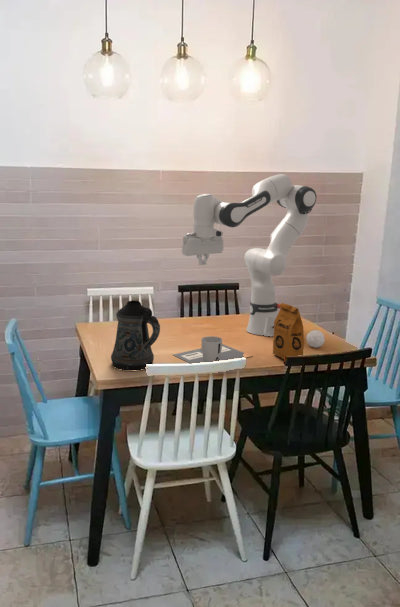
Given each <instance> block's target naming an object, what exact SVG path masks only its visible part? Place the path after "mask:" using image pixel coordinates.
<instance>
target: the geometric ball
mask: <svg viewBox="0 0 400 607" xmlns="http://www.w3.org/2000/svg"><path fill="white" fill-rule="evenodd" d="M325 340H326V338H325V335H324V333H323V332H322V331H321V330H318V329H313V330H311V331H309V332H308V333H307V335H306V342H307V345H309V346H310V347H311V348H312V347H314V348H315V349H317V348H320V347H322V346H323V345H324V343H325ZM314 348H313V349H314Z"/></svg>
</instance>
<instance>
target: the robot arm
mask: <svg viewBox="0 0 400 607" xmlns="http://www.w3.org/2000/svg"><path fill="white" fill-rule="evenodd" d="M275 202H276V203H277V204H278V206H279V207H281V208H284V209H287V212H286V215H285V216H284V217H283V218H282V220H280V222H279V223H278V224H277V226H275V228H274V230H273V231H272V232H271V233H270V238H269V239H270V241H269V245H268V246H267V248H263V247H262V248H260V247H254V248H249V249H248V250H247V251H246V252H245V254H244V256H243V258H244V259H243V262H244V264H245V267H247V270H248V275H249V279H250V286H251V287H250V288H251V292H250V293H251V295H250V296H251V297H250V298H251V299H250V302H249V319H248V323H247V327H246V332H248V333H249V334H252V335H256V336H263V335H264V337H268V336H270V337H274V321H275V319H276V317H277V315H278V313H279V311H280V309H281V307H280V304H281V303H277V302H276V301H275V300H276V285H275V283H274V281H273V278H272V276H273V277H275V276H280V275H282V274H283V273H284V272H285V271H286V268H287V266H288V265H287V264H288V261H287V256H288V254H289V252H290V250H291V248H292V246H293V245H294V244H295V243H296V241H297V240H298V239H299V237H300V236H301V235H302V233H303V232H304V230H305V229H306V227H307V225H308V223H309V220H310V217H309V214H310V213H311V212H312V210H313V208H314V207H315V205H316V202H317V192H316V190H315V189H313V188H312V187H310V186H306V185H301V184H293V182H292V179H291V178H290V177H289V175H287V174H285V173H280V174H275V175H271V176H269V177H267V178H264V179H262V180H260V181H258V182H257V183H255V184H254V185H253V186H252V188H251V196H250V197H249V198H247V199H245V200H243V201H241V202H227V201H226V202H225V201H222V200H220V199H219V198H217V197H215V196H214V195H213V194H211V193H203V194H199V195H197V196H196V197H195V198H194V201H193V211H192V212H193V215H192V216H193V223H192V233H186V234H185V235H184V236H183V238H182V246H181V253H182V255H183V256H185V257H186V256H187V257H191V256H196V258H197V261H198V265H200V266H204V265H208V264H207V261H208V259H209V258H210V255H212V254H222V253H223V251H224V238H223V236H224V232H223V231H222V230H219V229H216V228H214V227H215V224H217V225H222V226H225V227H229V228H235V227H236V228H237V227H239V226H240V225H241V224H242V223H243V222H244V221H245V220H246V218H248V217H249V216H250V215H252V214H254V213H257V211H259V210H261V209H263V208H265V207H266V206H269V205H271V204H273V203H275ZM202 258H203V259H202Z"/></svg>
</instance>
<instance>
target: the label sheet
mask: <svg viewBox="0 0 400 607" xmlns="http://www.w3.org/2000/svg"><path fill="white" fill-rule="evenodd" d="M244 353H245V352H243V351H241V350H238V349H235V348H233V347H231V346H228V345H226V344H223V343H222V350H221V355H220V359H219V360H228V359H234V358H242V357H244V356H243V354H244ZM172 356H174V357H175V358H178V359H180V360H182V361H184V362H186V363H188V364H190V363H200V362H204V359H203V353H202V347H201V348H197V349H196V348H195V349H192V350H188V351H183V352H180V353H179V352H178V353H174V354H172Z"/></svg>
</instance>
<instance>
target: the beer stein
mask: <svg viewBox="0 0 400 607" xmlns="http://www.w3.org/2000/svg"><path fill="white" fill-rule="evenodd" d="M115 317H116V319H117V328H116V336H115V341H114V347H113V351H112V352H111V356H110V360H111V364H112V367H113V366H114V367H116V368H118V369H122V370H121V371H123V370H140V371H142V370H141V369H144V370H146V369H145V367H146V364H152V365H153V363H154V359H155V358H154V357H155V354H154V353H153V350H152V349H153V348H152V345H154V343H155V342H156V341H157V339H158V338H159V336H160V332H161V324H160V323H159V320H158V319H157V317H155V316H154V315H153V311H152V309H151V308H150V307H145V306H144V305H142V303H141V301H139V300H129V301H127V303H126V304H125V305H124V306H122V307H121V308H120V309H118V310H117V312H116V314H115ZM148 324H149V325H151V327H152V333H151V336H150V335H149V334H150V333H149V327H148V326H149V325H148ZM114 367H113V368H114ZM116 368H115V369H116ZM118 369H117V370H118Z"/></svg>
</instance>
